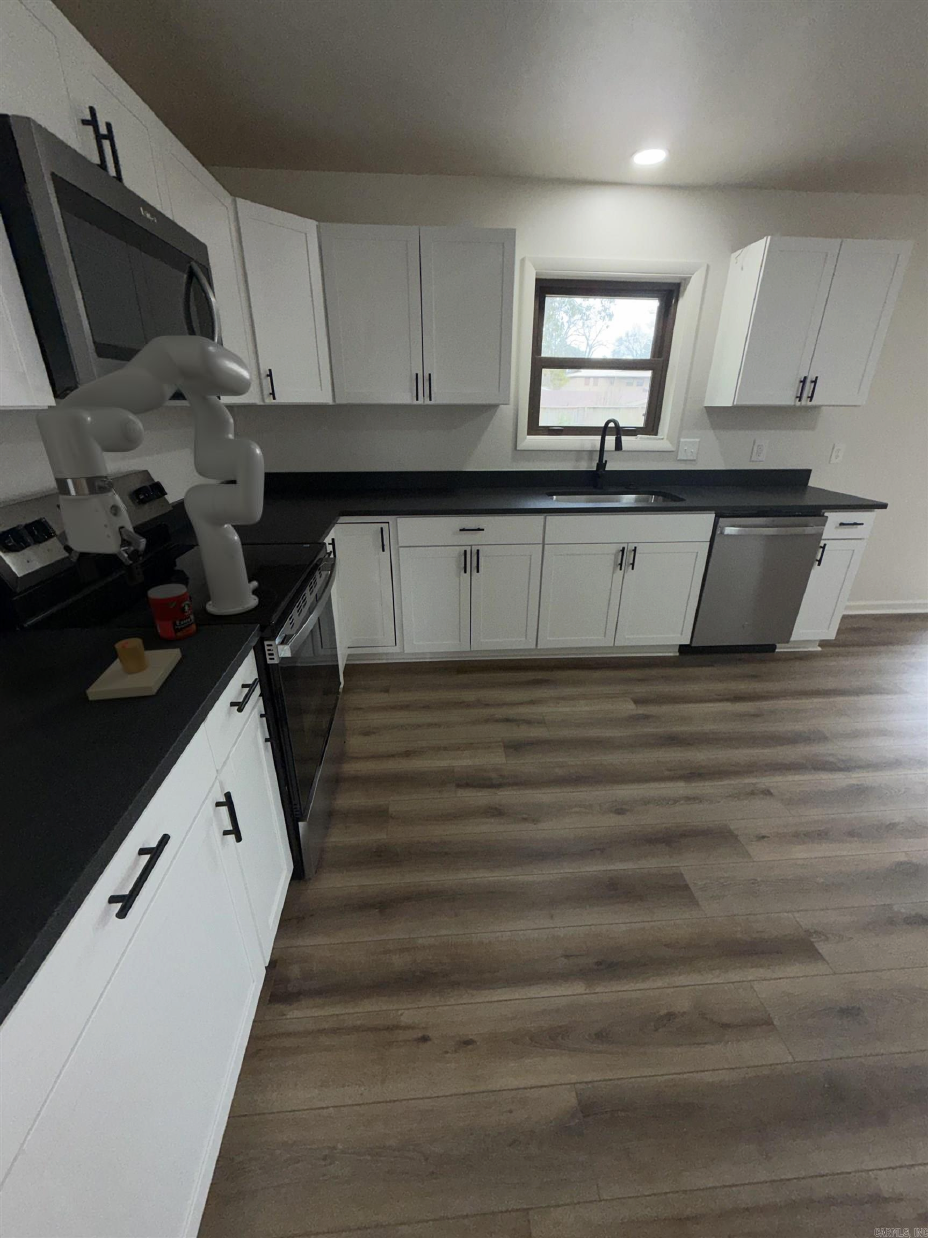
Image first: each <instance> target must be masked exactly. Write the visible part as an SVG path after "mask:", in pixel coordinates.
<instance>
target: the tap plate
mask: <svg viewBox="0 0 928 1238" xmlns="http://www.w3.org/2000/svg"><path fill="white" fill-rule="evenodd" d="M145 653H146V656H147V659H148V663H149V667H148V668H146V669H145V670H143V671H140V672H137V673H130V674H128V673H124V672H123V669H122V666H121V663H120V660H119V657H118V656H117V658H116V659H115V660H114V662H113V663H111V665H110V666H108V668H107V669H106V670H105V671H104V672H103V673H102V674H101V675H100V676H99V677H98V678H97V679H96V681H94V682H93V684H92V685H90V686H89V688H88V689H86V691H85V692H86V695H87V697H88V700H89V701H98V700H111V699H122V698H133V697H143V696H154V695H155V694H156V693H157V692H158V690H159V689H160V687H161V686H162V685H163V684H164V682H165V681H166V679H167V677H168V676H169V674H171V672H172V671H173V669H174V668H175V667H176V665H177V664H178V662H179V661H180V659H181V658H182V653H181V650H180V648H167V649H154V650H145Z"/></svg>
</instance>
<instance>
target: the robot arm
mask: <svg viewBox="0 0 928 1238" xmlns="http://www.w3.org/2000/svg"><path fill="white" fill-rule="evenodd" d="M251 386H252V375H251V371H250V369H249V366H248V365H247V363H246V362H245V361H244V359H242V357H241V356H240V355H237V354H236V353H235V352H233V351H232V350H230V349H228V348H226V347H225V346H223V345H221V344H220V343H218V342H216V341H214V340H212V339H209V338H207V337H204V336H201V335H161V336H157V337H154V338H152V339H151V340H150V341H148V343H147V344H146V345H145V346H143V347H142V348H141V349H140V350H139V351H138V352H137V353H136V354H135V355H134V356H133V358H131V359H130V360H129V361H128V362H126V364H125V365H124V366H122V368H119V369H117V370H114V371H113V372H110V373H108V374H105V375H103V376H101V377H99V378H97V379H94V380H92V381H90V382H87V383H86V384H83V385H81V386H80V387H77V388H75V390H73V391H71V392H70V393H69V394H67V396H66V397H65V398H64V399H62V400H61V401H60V402H59V403H58V404H57V405H56V406H55V408H42V409H39V410H38V411H37V412H36V414H35V420H36V424H37V428H38V431H39V434H40V437H41V440H42V444H43V446H44V449H45V453H46V456H47V459H48V462H49V466H50V468H51V472H52V475H53V478H54V482H55V484H56V487H57V491H58V494H59V496H58V502H59V509H60V515H61V520H62V524H63V528H64V530H62V531H60V533H58V534H57V535H56V536H55V538H56V540H57V541H58V543H59V544H60V545H61V547H62V548H63V549H62V550H63V551H64V552H65V553H67V554H68V555H69V558H70V560H71V561H72V562H74V563H75V566H76V570H77V573H78V575H79V579H80V582H81V583H88V582H91V581H94V580H96V579H98V578H99V573H98V569H97V566H96V563H95V560H94V557H92V556H90V555H91V554H105V555H106V554H108V555H112V554H113V555H114V554H115V555H116V556H117V557H118V558H119V559H120V560H121V561H122V562H123V564H122V570H123V573H124V577H125V580H126V584H127V586H128V587H129V586H130V587H132V586H135V585H138V584H140V583H142V582H144V581H145V578H144V573H143V571H142V567H141V563H140V561H142V559H143V555H144V554H145V551H146V550H145V549H146V544H147V539H146V538H145V537H143V536H141V535H139V534H137V533H135V531H134V528H133V526H132V522H131V520H130V518H129V514H128V512H127V509H126V508H125V505H124V503H123V501H122V499H121V498H120V496H119V494H118V493H114V489H113V488H115V484H114V482H113V480H111V478H110V475H109V471H108V466H107V464H106V459H105V456H104V452H105V453H129V452H131V451H134V450H136V449H138V448H139V447H140V446H141V445H142V443H143V441H144V438H145V429H144V427H143V424H142V422H141V421H140V419H139V418H138V417H137V416H136V415H141V414H145V413H148V412H152V411H155V410H158V409H160V408H162V407H163V406H164V405H166V403H167V402H168V401H169V400H170V399H171V397H172V396H173V395H174V394H175V392H176V391H177V390H178V389H179V390H180V391H181V393H182V394H183V396H184V397H185V399H186V401H187V403H188V404H189V406H190V408H191V410H192V413H193V417H194V438H193V465H194V469H195V471H196V473H197V474H198V475H199V476H200V477H202V478H205V479H209V480H221V481H222V480H223V481H224V480H225V481H232V480H233V481H236V484H235V483H198V484H195V485H192V486H190V487H189V488H188V489H187V490H186V492H185V494H184V496H183V503H184V509H185V512H186V514H187V517H188V518H189V520H190V522H191V525H192V527H193V530H194V533H195V536H196V540H197V544H198V548H199V553H200V557H201V562H202V565H203V569H204V570H203V571H204V575H205V578H206V579H205V580H206V584H207V588H208V592H209V596H210V601H208V602H207V603H206V605H205V609H206V612H207V613H209V614H212V615H215V616H231V615H237V614H241V613H245V612H248V611H250V610H252V609H254V608H255V607H256V606H258V605H259V598H258V596H256V595H254V594H253V590H255V589H256V588H258V587H259V583H258V581H256V580H253V581H251V582H249V579H248V574H247V569H246V564H245V558H244V553H243V548H242V547H243V546H242V543H241V539H240V537H239V535H238V533H237V531H236V530H235V528H234V527H233V525H234V526H236V525H237V526H250V525H255V524H256V523H258V522H259V521H260V519H261V517H262V515H263V510H264V491H265V459H264V455H263V452H262V449H261V448H260V447H259V445H258V443H256V442H255V441H254V440H250V439H247V438H235V422H234V419H233V417H232V415H231V413H230V411H229V409H227V407H226V406H225V405H224V404H223V403H222V401H221V400H220V399H219V398H218V397H241V396H244V395H246V394H247V393H248V392H249V391H250V389H251Z"/></svg>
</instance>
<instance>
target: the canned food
mask: <svg viewBox="0 0 928 1238" xmlns="http://www.w3.org/2000/svg"><path fill="white" fill-rule="evenodd" d="M147 597H148V601H149V605H150V608H151V611H152V614H153V615H152V616H153V618H154V623H155V625H156V629H157V633H158V635H159V636H160V638H162V639H164V640H168V641H174V640H175V641H177V640H181V639H185V638H189V637H190V636H192V635H193V634H195V633H196V632H197V631H196V629H197V626H196V625H197V624H196V621H195V616H194V612H193V609H192V605H191V601H190V596H189V592H188V589H187V586H186V585H185V584H183V583H182V584H181V583H167V584H162V585H159V586H158V585H157V586H154V587H152V588H150V589H149V590H148V591H147Z"/></svg>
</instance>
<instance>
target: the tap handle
mask: <svg viewBox="0 0 928 1238" xmlns="http://www.w3.org/2000/svg"><path fill="white" fill-rule="evenodd" d="M114 648H115V651H116V654H117V658H118V657H119V660H120V663H121V666H122V669H123V672H124V673H128V674H130V673H137V672H140V671H143V670H145V669H146V668H148V667H149V663H148V659H147V656H146V653H145V651H146V650H145V646H144V643H143V640H142V638H139V637H130V638H126V639H122V640H120V641H118V642H116V643H115V645H114Z"/></svg>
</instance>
